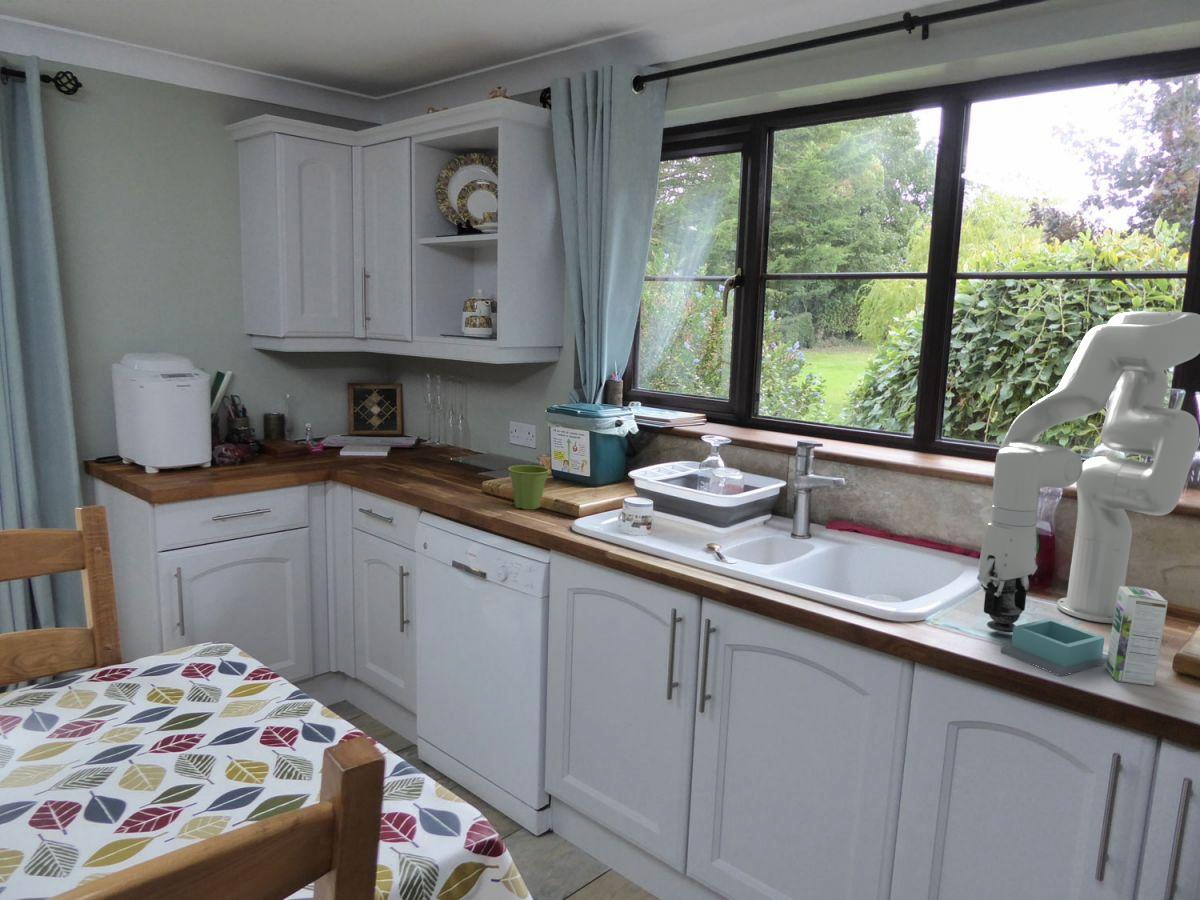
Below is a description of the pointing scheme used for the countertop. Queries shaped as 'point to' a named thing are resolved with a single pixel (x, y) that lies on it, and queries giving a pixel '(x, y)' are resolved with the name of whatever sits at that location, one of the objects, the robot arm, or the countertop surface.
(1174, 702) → the countertop surface
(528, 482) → the plant pot
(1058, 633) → the box
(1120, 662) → the syrup box
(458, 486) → the countertop surface
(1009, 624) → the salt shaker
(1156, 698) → the countertop surface
